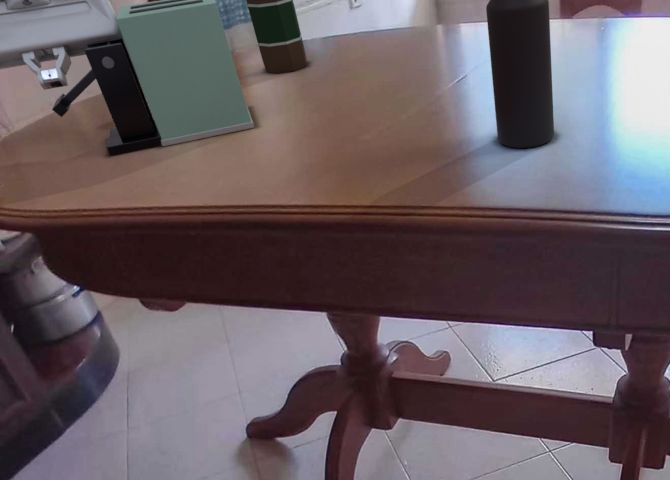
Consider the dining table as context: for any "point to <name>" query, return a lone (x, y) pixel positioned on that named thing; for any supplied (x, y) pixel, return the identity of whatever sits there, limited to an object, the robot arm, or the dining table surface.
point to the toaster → (185, 68)
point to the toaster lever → (73, 93)
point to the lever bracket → (122, 97)
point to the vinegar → (521, 71)
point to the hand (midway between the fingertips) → (54, 85)
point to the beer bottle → (278, 35)
